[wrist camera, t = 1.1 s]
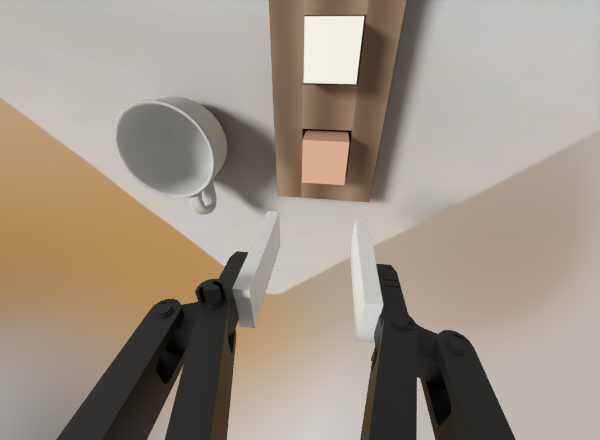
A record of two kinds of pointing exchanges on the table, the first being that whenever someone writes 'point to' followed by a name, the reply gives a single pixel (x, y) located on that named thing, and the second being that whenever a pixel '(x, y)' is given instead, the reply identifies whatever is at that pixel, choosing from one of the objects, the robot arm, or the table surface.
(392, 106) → the table surface
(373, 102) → the keypad frame
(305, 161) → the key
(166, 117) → the teacup
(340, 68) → the key mid
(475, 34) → the table surface
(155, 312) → the robot arm
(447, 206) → the table surface
